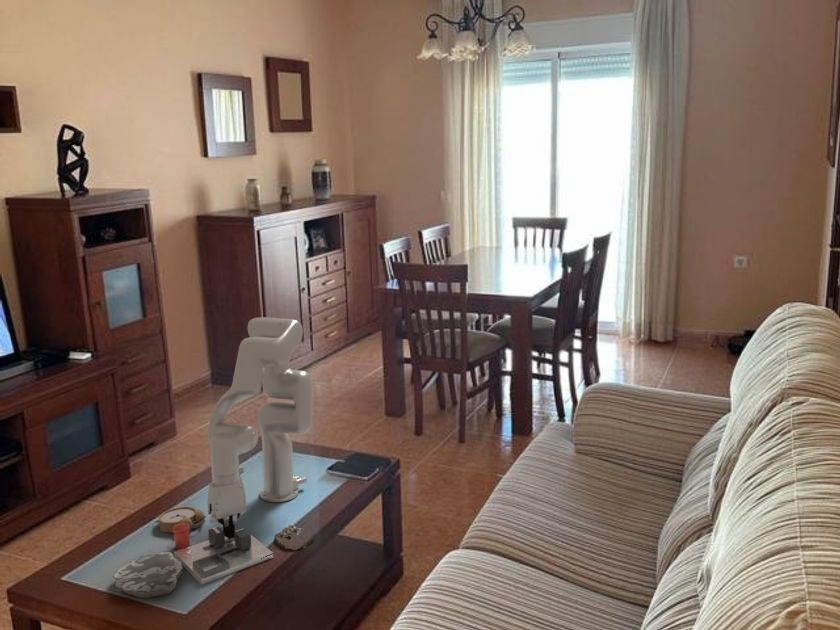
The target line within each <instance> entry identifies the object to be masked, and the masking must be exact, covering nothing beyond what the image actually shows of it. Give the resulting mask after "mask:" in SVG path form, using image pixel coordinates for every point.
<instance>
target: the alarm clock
mask: <svg viewBox="0 0 840 630" xmlns="http://www.w3.org/2000/svg"><path fill="white" fill-rule="evenodd" d="M206 518H207V516H206V515H205V513H204V511H203V510H202V509H197V508H195V507H193V506H179V507H173V508H171V509H167V510H165V511H163V512H162V513H161V514H160V515H159V516H158V520H155V523H158V525H159V530H160V531H162V532H164V533H174V532H173V527H174V526H175V525H177V524H182V523H185V524H188V525H189V526H190V529H189V533H190V532H191V531H192V529H196V528H199V527H200V526H203V525H204V524H205V522H206Z"/></svg>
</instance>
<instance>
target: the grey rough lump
mask: <svg viewBox="0 0 840 630" xmlns="http://www.w3.org/2000/svg"><path fill="white" fill-rule="evenodd" d="M301 529H303V528H302V527H301V528H298V527H296V526H295V525H293V524H289V525H288V526H287V527H284V528H283V529H282V530H281V531H280V532H278V533H276V534H275V535H274V541H275V543H276V544H277V546H280V547H281V548H282V549H285V546H284V545H282V544H281V539H282V537H283V536H287V535H299V533H301ZM285 538H287V539H288V540H290V539H291V537H290V536H288V537H285ZM315 540H316V538H314V539H313V540H311V541H309V542H308V543H307V544H305V545H303V546H302V547H301V548H300V549H299V550H303V549H306V548H307V547H310V546H311V545H312V544H314V543H315ZM279 542H280V543H279ZM285 550H286V549H285Z"/></svg>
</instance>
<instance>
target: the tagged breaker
mask: <svg viewBox="0 0 840 630" xmlns="http://www.w3.org/2000/svg"><path fill="white" fill-rule="evenodd" d="M208 540H209V543H210V544H211V545H212V546H213V547H214V548H217V547H220V546H223V545H225V532H224V531H223V528H221V527H220V526H216V527H212V528H210V529H208Z"/></svg>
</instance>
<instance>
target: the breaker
mask: <svg viewBox="0 0 840 630" xmlns="http://www.w3.org/2000/svg"><path fill="white" fill-rule="evenodd" d="M241 529H242V528H241ZM238 530H239V531H237V530H235V531H236V532H234V536H235V546H237V547H238V548H239V549H240V550H241V551H242V550H245V549H248V548H251V535H252V534H251V533H250V532H249V531H248V530H246V529H245V528H243V529H242V530H240V529H238Z"/></svg>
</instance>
